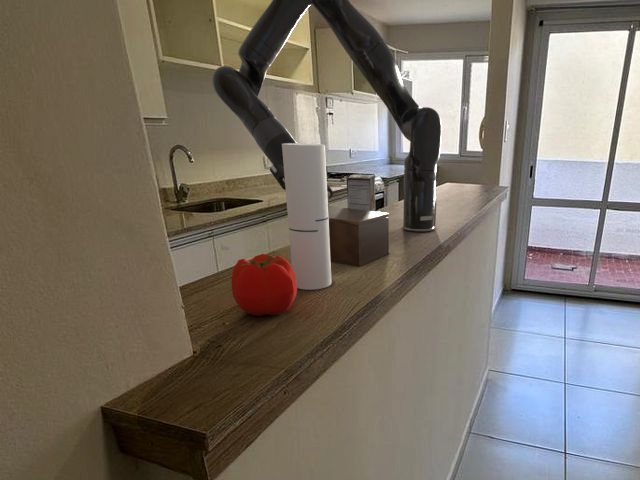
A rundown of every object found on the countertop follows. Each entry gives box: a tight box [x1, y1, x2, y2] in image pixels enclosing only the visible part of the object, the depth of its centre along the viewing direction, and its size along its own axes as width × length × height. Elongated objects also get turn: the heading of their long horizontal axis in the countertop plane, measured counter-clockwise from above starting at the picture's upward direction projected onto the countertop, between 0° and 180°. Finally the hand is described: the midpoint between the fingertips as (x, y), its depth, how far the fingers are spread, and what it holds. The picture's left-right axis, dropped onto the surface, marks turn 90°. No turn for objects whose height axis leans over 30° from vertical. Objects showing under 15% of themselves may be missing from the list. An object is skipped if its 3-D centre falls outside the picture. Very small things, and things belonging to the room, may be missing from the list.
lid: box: [327, 191, 390, 226], centre depth 101 cm, size 16×13×5 cm
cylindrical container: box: [282, 142, 333, 291], centre depth 81 cm, size 7×7×25 cm
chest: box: [329, 217, 390, 267], centre depth 104 cm, size 16×13×9 cm
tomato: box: [230, 253, 298, 317], centre depth 71 cm, size 11×11×9 cm
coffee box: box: [346, 174, 376, 212], centre depth 119 cm, size 9×6×16 cm
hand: (319, 198), depth 103 cm, fingers open, 8 cm apart
